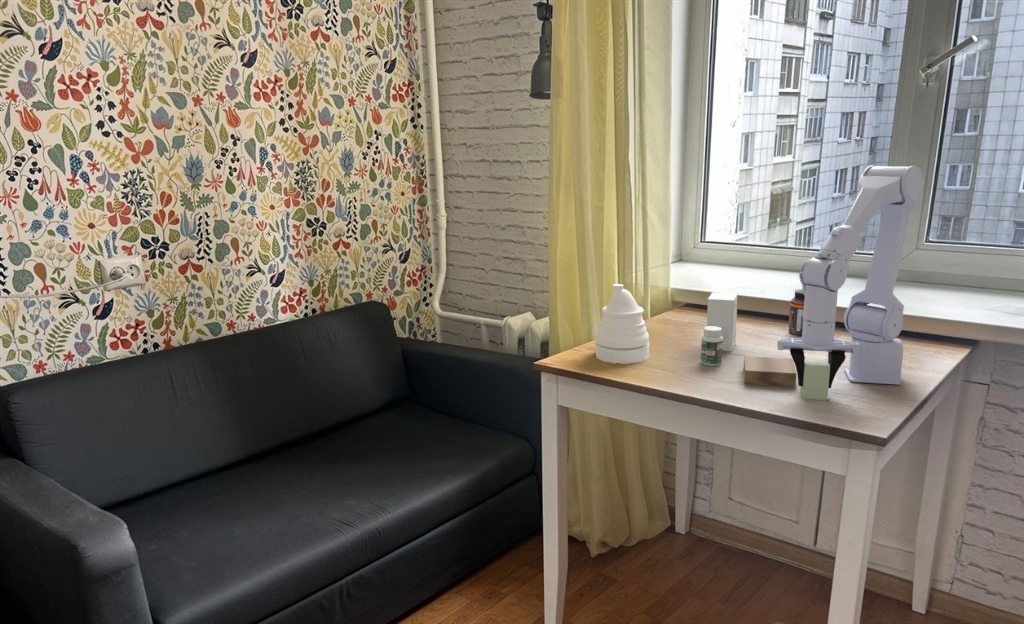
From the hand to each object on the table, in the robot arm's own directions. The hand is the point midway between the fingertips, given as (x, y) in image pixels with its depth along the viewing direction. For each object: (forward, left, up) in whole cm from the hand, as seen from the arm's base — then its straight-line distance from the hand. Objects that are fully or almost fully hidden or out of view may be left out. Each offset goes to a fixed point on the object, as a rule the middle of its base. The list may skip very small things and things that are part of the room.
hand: (814, 385), depth 134 cm
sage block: (0, 0, -2) cm, 2 cm away
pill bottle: (+20, -17, -2) cm, 26 cm away
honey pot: (+41, -19, -2) cm, 45 cm away
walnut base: (+8, -9, -2) cm, 12 cm away
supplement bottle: (-2, -47, -2) cm, 47 cm away
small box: (+18, -31, -2) cm, 36 cm away
